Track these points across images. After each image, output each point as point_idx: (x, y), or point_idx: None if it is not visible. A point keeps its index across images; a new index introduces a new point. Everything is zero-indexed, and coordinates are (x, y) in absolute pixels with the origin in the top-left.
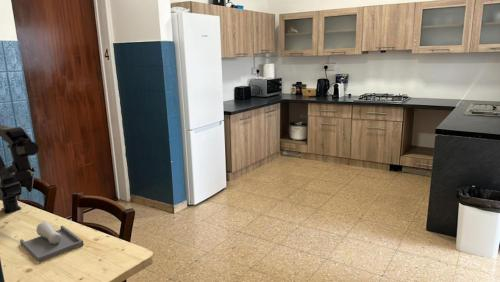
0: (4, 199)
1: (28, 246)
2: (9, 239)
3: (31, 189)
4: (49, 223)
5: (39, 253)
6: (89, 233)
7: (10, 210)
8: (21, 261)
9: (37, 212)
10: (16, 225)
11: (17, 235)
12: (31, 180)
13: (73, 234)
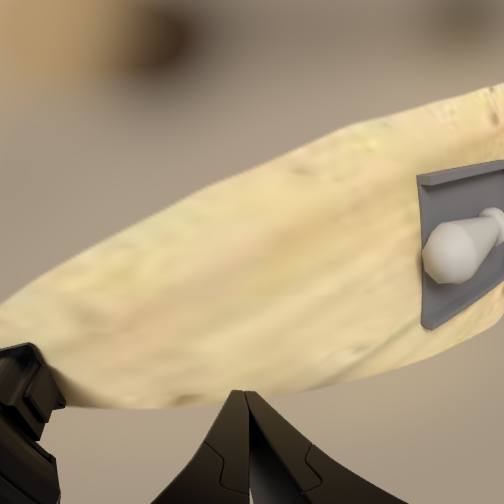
0: (45, 453)
1: (473, 299)
2: (367, 364)
3: (267, 404)
4: (477, 237)
5: (488, 269)
6: (470, 115)
7: (58, 392)
8: (481, 308)
9: (118, 265)
10: (250, 362)
11: (356, 345)
12: (352, 489)
13: (488, 167)
